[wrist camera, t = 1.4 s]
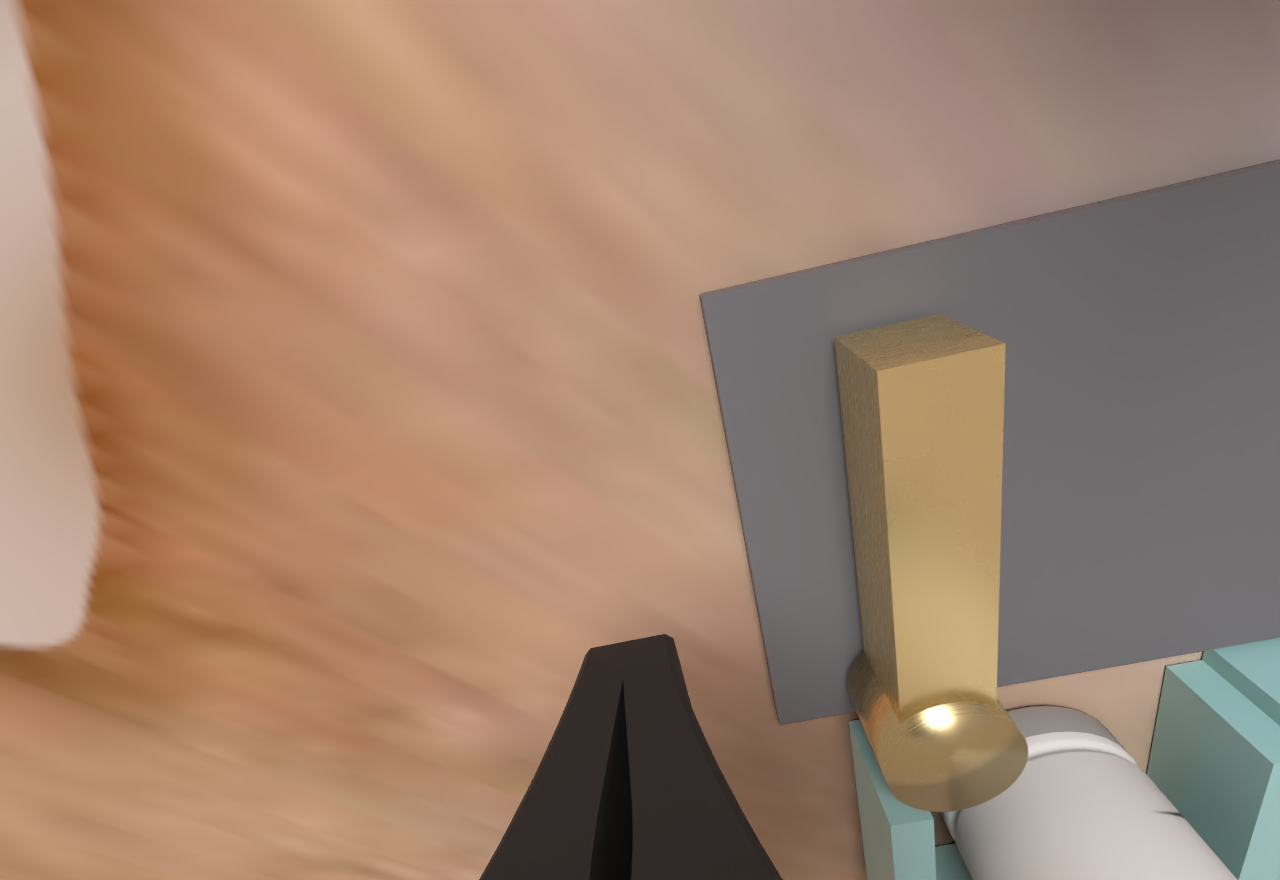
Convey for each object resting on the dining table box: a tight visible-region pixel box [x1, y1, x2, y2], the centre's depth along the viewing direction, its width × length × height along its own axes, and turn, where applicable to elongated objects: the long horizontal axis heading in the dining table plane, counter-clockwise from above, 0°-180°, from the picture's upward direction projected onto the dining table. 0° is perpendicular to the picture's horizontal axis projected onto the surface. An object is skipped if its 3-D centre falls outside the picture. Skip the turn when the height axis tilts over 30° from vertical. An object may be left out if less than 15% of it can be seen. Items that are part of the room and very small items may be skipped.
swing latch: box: [834, 314, 1028, 812], centre depth 15 cm, size 13×4×3 cm, turn 13°
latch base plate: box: [699, 160, 1280, 725], centre depth 16 cm, size 17×14×1 cm
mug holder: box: [849, 638, 1280, 880], centre depth 19 cm, size 14×9×4 cm
